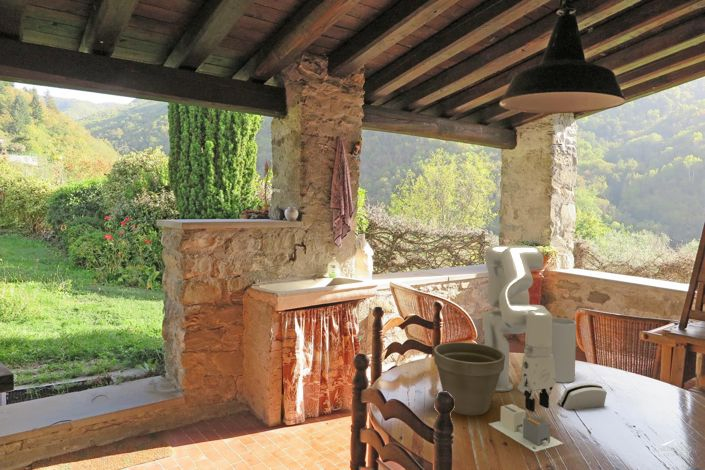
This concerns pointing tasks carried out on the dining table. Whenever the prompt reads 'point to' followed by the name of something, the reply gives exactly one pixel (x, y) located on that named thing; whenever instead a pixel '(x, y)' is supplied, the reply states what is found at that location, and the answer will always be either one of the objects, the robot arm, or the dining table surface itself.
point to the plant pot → (469, 374)
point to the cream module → (512, 417)
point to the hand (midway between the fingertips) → (536, 407)
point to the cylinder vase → (564, 349)
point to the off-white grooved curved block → (583, 396)
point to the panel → (519, 438)
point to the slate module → (536, 430)
